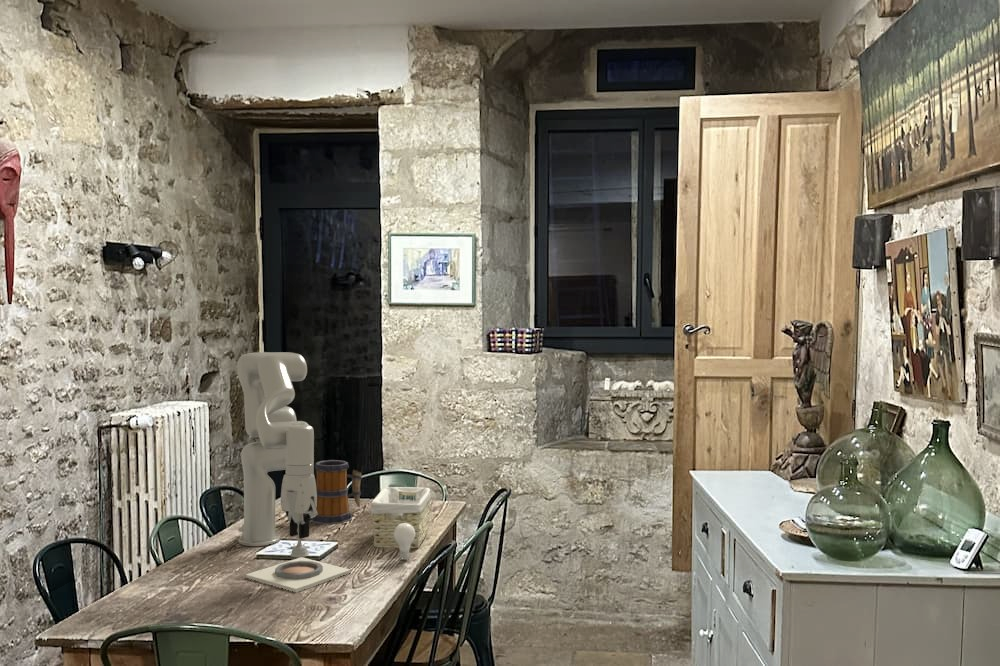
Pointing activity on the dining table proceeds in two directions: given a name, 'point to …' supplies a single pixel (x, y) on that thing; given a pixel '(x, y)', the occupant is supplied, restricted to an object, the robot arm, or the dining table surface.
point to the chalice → (299, 549)
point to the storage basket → (399, 515)
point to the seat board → (298, 574)
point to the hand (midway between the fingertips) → (299, 535)
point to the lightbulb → (404, 539)
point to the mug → (335, 492)
